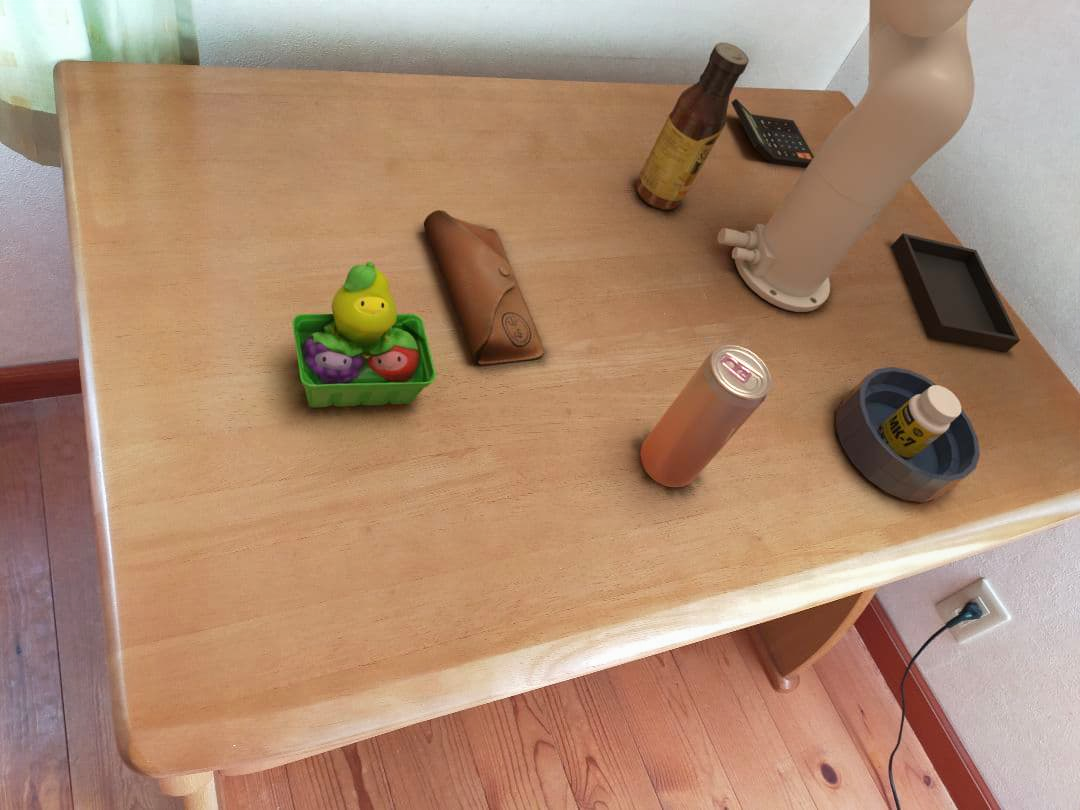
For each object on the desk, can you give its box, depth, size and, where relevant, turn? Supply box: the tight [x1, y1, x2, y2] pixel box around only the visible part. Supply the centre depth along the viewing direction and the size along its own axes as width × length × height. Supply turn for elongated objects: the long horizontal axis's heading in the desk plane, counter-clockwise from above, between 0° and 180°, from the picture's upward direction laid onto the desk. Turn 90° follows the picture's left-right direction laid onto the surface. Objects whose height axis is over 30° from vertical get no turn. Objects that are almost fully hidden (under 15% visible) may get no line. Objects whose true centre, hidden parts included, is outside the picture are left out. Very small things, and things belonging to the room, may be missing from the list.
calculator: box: [731, 98, 815, 169], centre depth 124 cm, size 9×12×3 cm
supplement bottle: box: [877, 384, 962, 461], centre depth 93 cm, size 5×5×8 cm
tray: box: [891, 232, 1021, 353], centre depth 115 cm, size 16×12×2 cm
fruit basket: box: [291, 261, 437, 409], centre depth 75 cm, size 11×9×11 cm
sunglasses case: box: [423, 209, 545, 366], centre depth 89 cm, size 18×7×7 cm, turn 21°
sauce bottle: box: [635, 41, 750, 211], centre depth 102 cm, size 7×6×20 cm
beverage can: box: [640, 344, 772, 488], centre depth 79 cm, size 6×6×15 cm
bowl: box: [835, 366, 981, 503], centre depth 94 cm, size 14×14×5 cm
